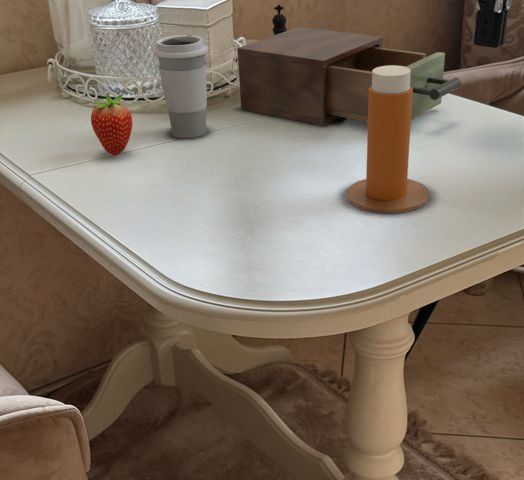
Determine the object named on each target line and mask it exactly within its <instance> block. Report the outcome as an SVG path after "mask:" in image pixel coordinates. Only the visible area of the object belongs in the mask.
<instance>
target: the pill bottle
mask: <svg viewBox="0 0 524 480" xmlns="http://www.w3.org/2000/svg"><path fill="white" fill-rule="evenodd" d="M410 73H411V70H410V69H409V68H407V67H404V66H395V65H390V66H381V67H377V68H375V69H373V70H372V86H371V87H370V88H369V99H368V122H367V134H366V135H367V136H366V137H367V138H366V140H367V141H366V142H367V143H366V173H365V174H366V175H365V179H366V194H367V195H368V196H370V197H372V198H374V199H379V200H394V199H399V198H401V197H403V196H405V195H406V193H407V179H408V173H409V159H410V140H411V138H410V137H411V123H412V120H411V108H412V91H413V88H412V87H411V86H410Z"/></svg>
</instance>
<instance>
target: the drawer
mask: <svg viewBox="0 0 524 480" xmlns="http://www.w3.org/2000/svg"><path fill="white" fill-rule="evenodd" d="M445 57H446V53H445V52H440V51H436V52H434V53H432V54H430V55H428V56H427V54H426V52H425V53H424V52H418V51H417V52H416V51H411V50H410V51H409V50H402V49H394V48H387V47H382V48H380V47H370V48H368V49H365V50H363V51H360V52H358V53H356V54H353V55H351V56H348V57H346V58H343V59H341V60H338V61H336V62H334V63H331V64H329V65H326V109H327V114H329V115H334V116H339V117H340V118H345V119H349V120H356V121H361V122H365V123H368V99H369V88H370V87H371V86H372V70H373V69H375V68H377V67H381V66H390V65H395V66H404V67H407V68H409V69H410V70H411V73H410V86H411V87H412V88H413V91H412V108H411V121H412V120H414V119H415V118H417V117H419V116H421V115H423V114H425V113H427V112H428V111H431V110H432V109H434V108H436V107H438V106H439V105H441V104H442V99H443V97H444V96H446V95H448V94H450V93H451V92H453V91H455V90H458V89H459V88H461V86H462V80H461V78H460V77H456V76H455V77H453V78H451V79H447V78H444V74H445V73H444V71H445V60H446V58H445Z"/></svg>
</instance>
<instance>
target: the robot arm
mask: <svg viewBox="0 0 524 480" xmlns="http://www.w3.org/2000/svg"><path fill="white" fill-rule="evenodd" d="M511 5H512V0H475V10H476V19H475V27H474V36H473V44H474V45H475V46H479V47H485V48H493V49H497V48H499V47H501V46H503V45H504V44H505V41H506V40H505V39H506V32H507V25H508V18H509V12H510V10H509V9H510V8H511Z"/></svg>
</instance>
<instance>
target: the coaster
mask: <svg viewBox="0 0 524 480" xmlns="http://www.w3.org/2000/svg"><path fill="white" fill-rule="evenodd" d="M345 195H346V200H347V202H348V203H349V204H350V205H352V206H353V207H355V208H357V209H359V210H362V211H365V212H370V213H375V214H401V213H402V214H403V213H408V212H411V211H416V210H418V209H421V208H422V207H424V206H426V205H427V203H428V202H429V200H430V196H431V192H430V189H429V188H428V187H427V185H424V184H423V183H421V182H419V181H416V180H414V179H410V178H407V193H406V195H405V196H403V197H401V198H399V199H394V200H379V199H374V198H372V197H370V196H368V195H367V194H366V178H364V179H362V180H358V181H356V182H354V183H351V185H350V186H348V188H347V190H346V194H345Z"/></svg>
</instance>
